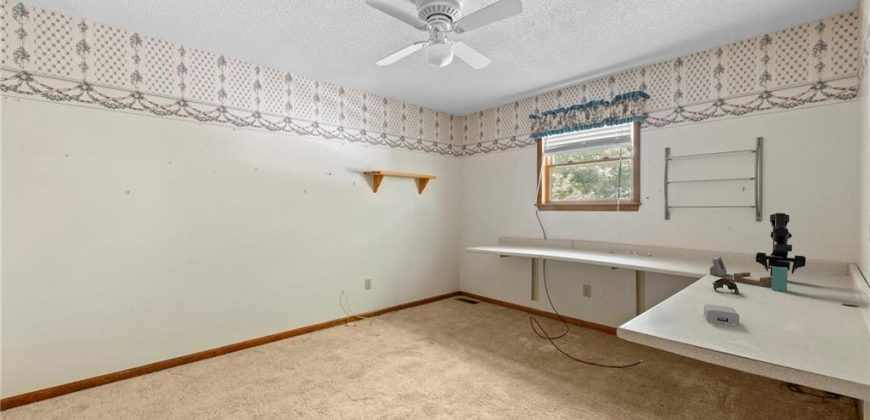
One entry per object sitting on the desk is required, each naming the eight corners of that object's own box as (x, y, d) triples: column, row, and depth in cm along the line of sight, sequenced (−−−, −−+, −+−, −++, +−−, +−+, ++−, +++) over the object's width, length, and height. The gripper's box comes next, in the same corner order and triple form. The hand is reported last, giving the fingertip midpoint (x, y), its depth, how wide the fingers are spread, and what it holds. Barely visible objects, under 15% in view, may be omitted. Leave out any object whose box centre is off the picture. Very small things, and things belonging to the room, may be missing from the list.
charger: (730, 315, 143) (738, 326, 130) (701, 311, 148) (706, 322, 135) (731, 303, 143) (739, 313, 130) (702, 300, 147) (707, 309, 135)
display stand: (745, 279, 210) (746, 271, 210) (776, 284, 197) (776, 276, 197) (733, 281, 205) (733, 273, 205) (764, 286, 192) (764, 278, 192)
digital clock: (722, 277, 215) (722, 259, 215) (704, 274, 223) (704, 257, 222) (732, 274, 224) (733, 257, 224) (715, 272, 232) (716, 255, 231)
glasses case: (771, 288, 189) (772, 266, 189) (786, 290, 185) (787, 267, 185) (771, 290, 185) (772, 267, 185) (786, 292, 181) (787, 269, 181)
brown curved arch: (737, 297, 172) (727, 281, 174) (716, 301, 180) (706, 286, 182) (745, 287, 179) (735, 272, 181) (725, 292, 187) (715, 277, 189)
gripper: (756, 237, 195) (755, 259, 187) (806, 240, 183) (807, 264, 175) (756, 250, 201) (755, 273, 193) (804, 254, 189) (805, 278, 181)
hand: (779, 272), depth 185 cm, fingers open, 9 cm apart
